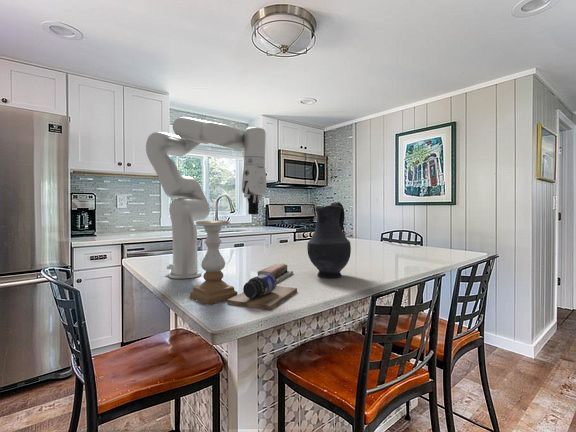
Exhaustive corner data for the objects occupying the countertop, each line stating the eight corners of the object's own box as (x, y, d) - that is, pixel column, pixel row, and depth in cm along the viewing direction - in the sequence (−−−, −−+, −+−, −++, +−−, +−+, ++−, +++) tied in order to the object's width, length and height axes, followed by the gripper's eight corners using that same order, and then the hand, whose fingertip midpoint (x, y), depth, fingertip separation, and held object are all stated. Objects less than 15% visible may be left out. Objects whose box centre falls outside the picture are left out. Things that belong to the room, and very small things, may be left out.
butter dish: (276, 272, 117) (252, 270, 121) (276, 285, 118) (252, 282, 121) (293, 263, 134) (271, 261, 138) (293, 274, 134) (271, 273, 138)
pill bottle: (277, 291, 101) (259, 301, 92) (261, 290, 104) (241, 300, 94) (276, 272, 101) (257, 280, 92) (260, 271, 104) (240, 279, 94)
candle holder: (219, 290, 108) (218, 220, 107) (238, 297, 100) (237, 221, 99) (188, 297, 100) (188, 221, 99) (207, 305, 93) (206, 222, 92)
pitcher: (299, 276, 128) (299, 202, 127) (324, 268, 145) (324, 202, 144) (339, 283, 119) (339, 201, 117) (360, 273, 136) (361, 202, 134)
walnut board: (227, 303, 94) (227, 299, 94) (259, 287, 112) (259, 284, 112) (270, 310, 88) (270, 305, 88) (297, 291, 107) (297, 288, 107)
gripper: (252, 160, 107) (250, 215, 108) (273, 165, 120) (272, 214, 121) (233, 160, 110) (232, 214, 111) (256, 165, 123) (255, 213, 124)
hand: (253, 214), depth 116 cm, fingers closed
